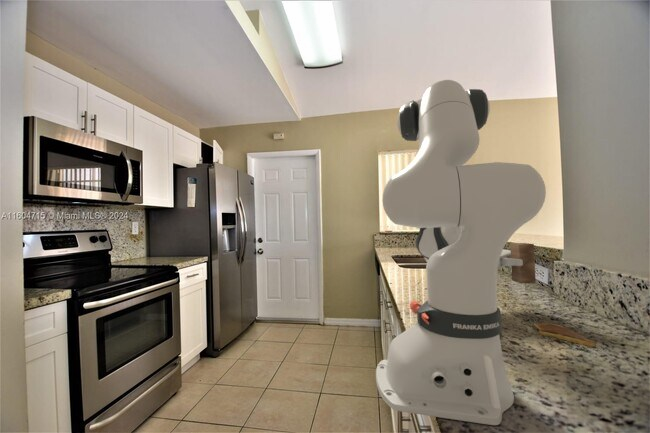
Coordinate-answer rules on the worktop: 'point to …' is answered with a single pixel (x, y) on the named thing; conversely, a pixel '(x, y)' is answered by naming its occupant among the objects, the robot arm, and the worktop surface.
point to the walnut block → (528, 269)
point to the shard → (562, 333)
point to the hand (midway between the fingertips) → (526, 261)
